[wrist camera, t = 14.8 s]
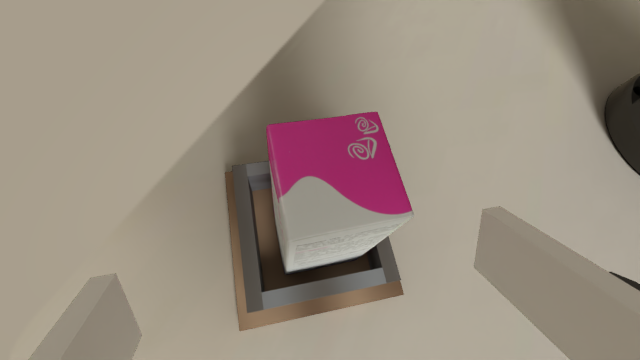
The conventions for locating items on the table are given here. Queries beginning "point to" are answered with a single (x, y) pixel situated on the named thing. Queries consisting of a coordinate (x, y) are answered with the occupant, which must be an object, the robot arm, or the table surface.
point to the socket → (267, 268)
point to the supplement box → (333, 189)
